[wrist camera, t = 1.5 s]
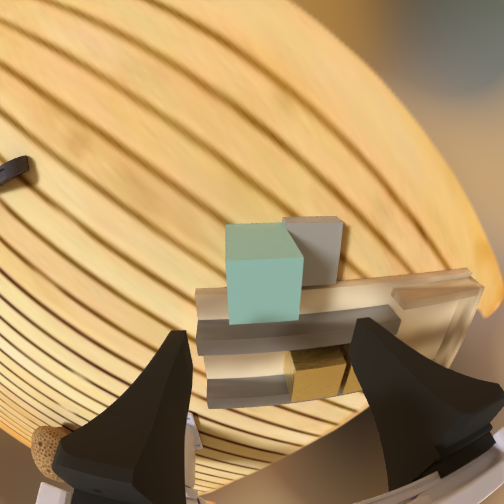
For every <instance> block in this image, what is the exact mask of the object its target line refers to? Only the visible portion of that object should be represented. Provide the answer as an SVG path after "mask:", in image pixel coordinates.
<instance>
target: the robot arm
mask: <svg viewBox="0 0 504 504" xmlns="http://www.w3.org/2000/svg"><path fill="white" fill-rule="evenodd" d="M348 354H349V357H350V361H351V364H352V367H353V370H354V373H355V375H356V377H357V380H358V382H359V384H360V386H361V388H362V390H363V393H364V395H365V397H366V399H367V401H368V404H369V406H370V408H371V410H372V413H373V415H374V418H375V422H376V425H377V428H378V432H379V435H380V439H381V443H382V448H383V452H384V457H385V462H386V469H387V476H388V486H389V492H388V493H385V494H382V495H379V496H377V497H373V498H370V499H367V500H364V501H361V502H357V503H354V504H402V503H405V502H407V501H409V500H411V499H412V500H411V501H410V502H408V503H406V504H479V503H480V502H482V501H483V500H484V499H485V498H487V497H488V496H489V495H490V494H491V493H493V492H494V491H495V490H496V489H497V488H499V487H500V486H501V485H502V484H503V483H504V426H503V427H502V428H500V429H499V430H498V431H496V432H495V433H494V434H493V435H491V433H490V431H491V430H492V425H491V424H490V422H491V420H493V418H494V417H495V416H496V415H497V414H498V412H499V411H500V410H501V409H502V407H503V406H504V391H503V389H502V388H501V387H500V385H499V384H497V383H492V382H487V381H483V380H478V379H475V378H472V377H469V376H465V375H463V374H460V373H458V372H455V371H453V370H450V369H448V368H446V367H444V366H442V365H440V364H438V363H436V362H434V361H432V360H430V359H429V358H427V357H425V356H424V355H422V354H420V353H419V352H417V351H416V350H414V349H413V348H411V347H410V346H408V345H407V344H405V343H404V342H403V341H401V340H400V339H398V338H397V337H396V336H394V335H393V334H392V333H390V332H389V331H388V330H386V329H385V328H384V327H382V326H381V325H380V324H378V323H377V322H376V321H374V320H373V319H371V318H370V317H365V318H358V319H357V320H356V324H355V328H354V332H353V336H352V340H351V344H350V348H349V351H348ZM192 376H193V363H192V358H191V354H190V349H189V343H188V338H187V333H186V330H182V331H171V332H170V333H169V334H168V336H167V337H166V339H165V340H164V342H163V344H162V345H161V347H160V348H159V350H158V351H157V353H156V354H155V355H154V357H153V358H152V360H151V361H150V362H149V364H148V365H147V367H146V368H145V369H144V370H143V372H142V373H141V374H140V375H139V376H138V378H137V379H136V380H135V381H134V382H133V384H132V385H131V386H130V387H129V388H128V389H127V390H126V391H125V392H124V393H123V394H122V395H121V396H120V397H119V398H118V399H117V400H116V401H115V402H114V403H113V404H112V405H110V406H109V407H108V408H107V409H106V410H105V411H103V412H102V413H101V414H99V415H98V416H97V417H95V418H94V419H93V420H91V421H90V422H88V423H87V424H85V425H84V426H82V427H81V428H79V429H77V430H75V431H74V432H72V433H70V434H68V435H66V436H64V437H62V438H61V439H60V441H59V444H58V446H57V449H56V452H55V456H54V459H53V462H52V466H51V468H52V470H53V472H54V473H55V474H56V475H57V476H58V477H60V478H61V479H62V480H64V481H65V482H66V483H68V484H69V485H70V486H72V487H73V488H74V493H73V494H71V493H69V492H67V491H65V490H62V489H59V488H57V487H54V486H52V485H49V484H47V483H44V482H42V483H41V485H40V489H39V493H38V497H37V501H36V504H207V503H206V502H205V501H204V499H203V498H201V497H197V490H195V489H193V487H194V484H195V455H196V450H202V449H203V445H202V442H201V439H200V436H199V433H198V429H197V426H196V423H195V420H194V416H193V414H192V413H191V412H188V410H189V403H190V397H191V390H192Z"/></svg>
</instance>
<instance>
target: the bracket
mask: <svg viewBox="0 0 504 504" xmlns="http://www.w3.org/2000/svg"><path fill="white" fill-rule="evenodd" d="M28 170H29V167H28V162H27V157H26V155H25V156H21V157H18V158H15V159H13V160H10V161H8V162H6V163H4V164H2V165H1V166H0V186H1V185H3V184H4V183H6V182H8V181H10V180H11V179H13V178H15V177H17V176H19V175H21V174H23V173H24V172H26V171H28Z"/></svg>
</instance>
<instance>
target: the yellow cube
mask: <svg viewBox="0 0 504 504" xmlns="http://www.w3.org/2000/svg"><path fill="white" fill-rule="evenodd" d="M350 344H351V343H346V344H340V345H338V347H339V349H340V351H341V353H342V355H343V357H344V359H345V362H346V367H345V371H344V374H343V377H342V381H341V384H340V390H341V392H342V394H346V393H351V392H356V391H360V390H362V388H361V386H360V384H359V382H358V380H357V377H356V375H355V373H354V370H353V367H352V364H351V361H350V357H349V354H348V351H349V348H350Z"/></svg>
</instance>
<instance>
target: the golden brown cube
mask: <svg viewBox="0 0 504 504" xmlns="http://www.w3.org/2000/svg"><path fill="white" fill-rule="evenodd" d="M345 367H346V362H345V359H344V357H343V355H342V353H341V351H340V349H339V347H338V345H333V346H325V347H317V348H309V349H300V350H290V351H285V354H284V366H283V371H284V375H285V379H286V383H287V387H288V391H289V396H290V400H291V402H298V401H305V400H312V399H318V398H324V397H330V396H336V395H337V393H338V390H339V387H340V384H341V381H342V377H343V374H344V371H345Z"/></svg>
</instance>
